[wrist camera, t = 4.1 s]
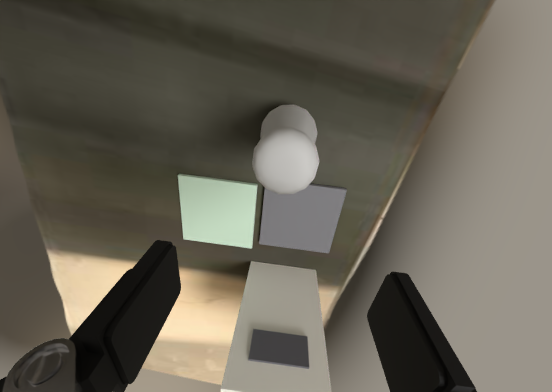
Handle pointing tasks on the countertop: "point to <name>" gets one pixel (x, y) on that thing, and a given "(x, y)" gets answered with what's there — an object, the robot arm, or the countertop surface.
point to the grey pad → (302, 217)
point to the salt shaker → (286, 150)
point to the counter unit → (278, 334)
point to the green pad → (217, 210)
